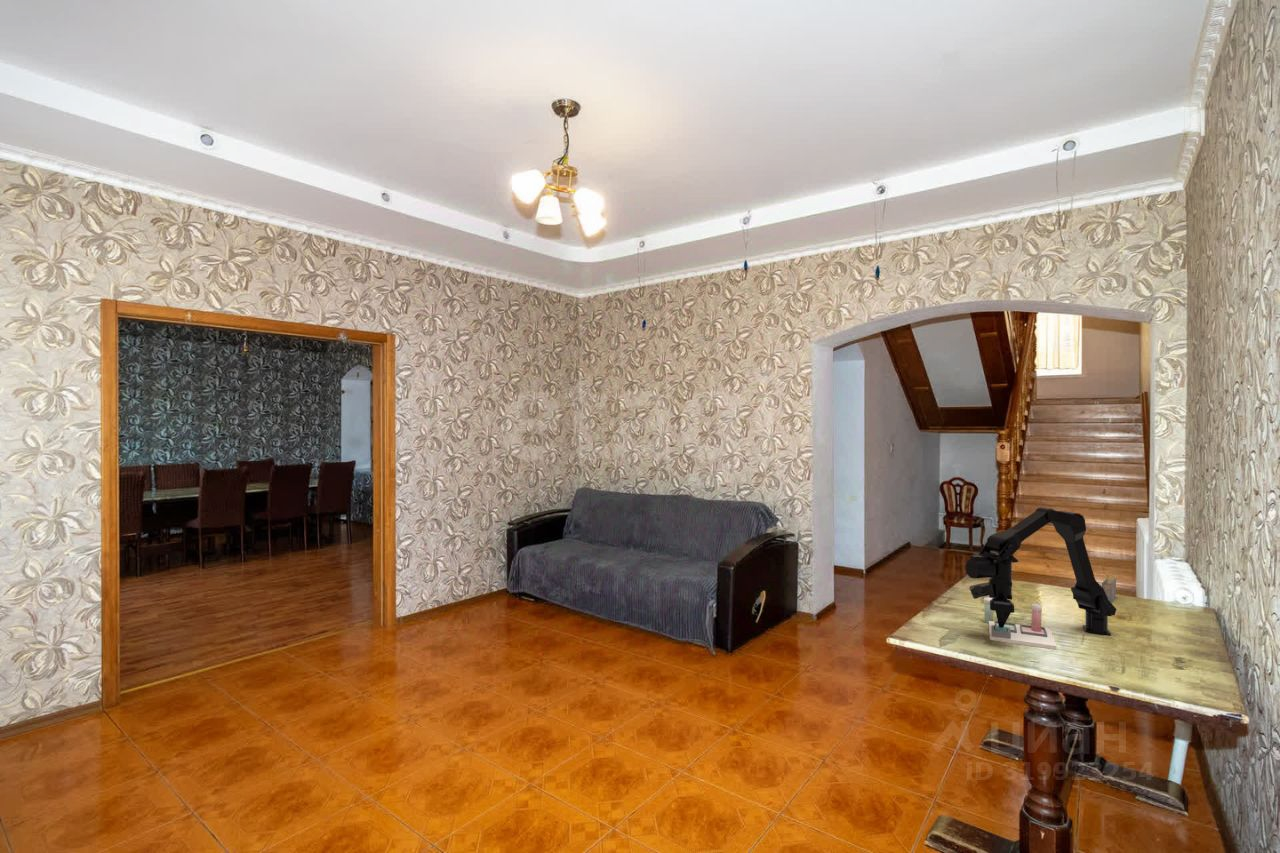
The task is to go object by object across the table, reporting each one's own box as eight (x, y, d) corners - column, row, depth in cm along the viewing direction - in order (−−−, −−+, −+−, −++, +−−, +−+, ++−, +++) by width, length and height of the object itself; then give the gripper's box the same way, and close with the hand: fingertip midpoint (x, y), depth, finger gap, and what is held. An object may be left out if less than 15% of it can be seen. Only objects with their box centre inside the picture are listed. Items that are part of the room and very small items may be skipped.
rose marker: (1040, 629, 195) (1041, 604, 195) (1041, 632, 193) (1042, 606, 193) (1030, 628, 196) (1031, 603, 196) (1031, 630, 194) (1032, 605, 194)
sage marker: (984, 620, 208) (984, 596, 208) (993, 621, 206) (993, 597, 206) (984, 622, 205) (984, 598, 205) (993, 624, 204) (993, 599, 204)
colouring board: (988, 624, 204) (988, 614, 204) (1050, 632, 196) (1050, 622, 196) (989, 639, 189) (989, 630, 189) (1056, 649, 181) (1056, 639, 181)
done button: (995, 632, 192) (995, 624, 192) (1006, 634, 191) (1006, 626, 191) (995, 635, 190) (995, 627, 190) (1006, 637, 188) (1006, 629, 188)
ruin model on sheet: (1106, 596, 237) (1106, 571, 237) (1116, 598, 235) (1116, 573, 235) (1100, 603, 229) (1100, 576, 229) (1110, 604, 227) (1110, 578, 227)
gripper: (971, 567, 202) (971, 615, 202) (971, 580, 186) (971, 632, 186) (1011, 571, 197) (1011, 620, 197) (1014, 584, 181) (1014, 638, 181)
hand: (1001, 627), depth 190 cm, fingers closed, pressing on done button
